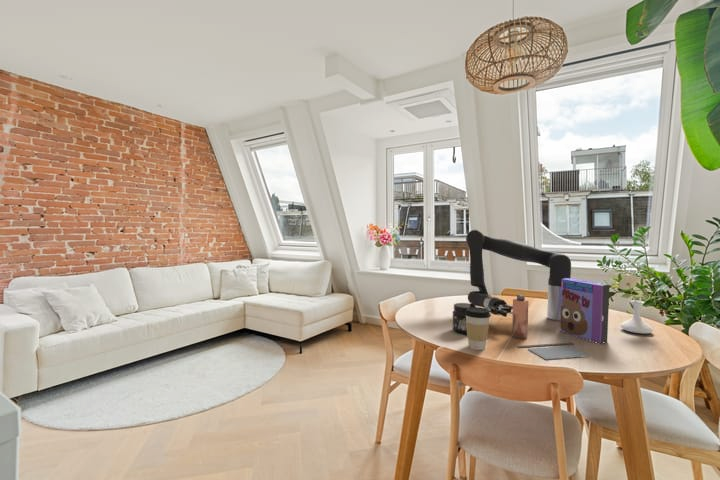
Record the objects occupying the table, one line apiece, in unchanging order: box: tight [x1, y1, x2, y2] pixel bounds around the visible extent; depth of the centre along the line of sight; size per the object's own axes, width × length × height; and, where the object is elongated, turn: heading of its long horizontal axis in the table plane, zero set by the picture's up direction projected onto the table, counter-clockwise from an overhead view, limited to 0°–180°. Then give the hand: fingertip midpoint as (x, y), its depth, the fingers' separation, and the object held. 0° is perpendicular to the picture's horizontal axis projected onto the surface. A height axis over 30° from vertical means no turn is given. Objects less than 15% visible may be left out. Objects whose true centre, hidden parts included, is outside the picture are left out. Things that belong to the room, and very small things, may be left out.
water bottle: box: [511, 294, 529, 340], centre depth 149 cm, size 6×6×18 cm
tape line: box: [516, 342, 574, 349], centre depth 139 cm, size 24×1×1 cm, turn 99°
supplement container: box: [452, 302, 477, 336], centre depth 156 cm, size 10×10×12 cm
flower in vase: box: [617, 275, 654, 335], centre depth 156 cm, size 13×11×25 cm
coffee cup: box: [464, 306, 492, 351], centre depth 137 cm, size 10×10×15 cm
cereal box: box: [559, 278, 610, 344], centre depth 149 cm, size 17×5×24 cm, turn 23°
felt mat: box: [527, 345, 590, 361], centre depth 131 cm, size 18×10×1 cm, turn 99°
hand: (515, 314), depth 152 cm, fingers open, 8 cm apart
